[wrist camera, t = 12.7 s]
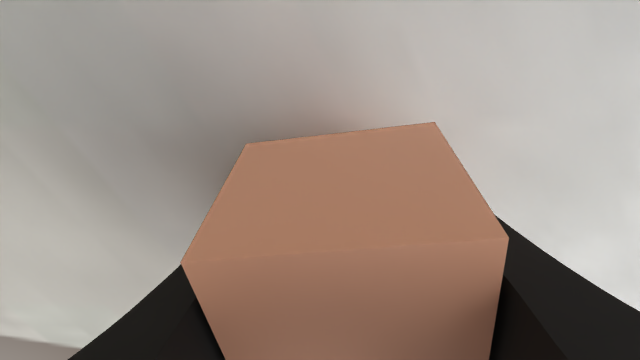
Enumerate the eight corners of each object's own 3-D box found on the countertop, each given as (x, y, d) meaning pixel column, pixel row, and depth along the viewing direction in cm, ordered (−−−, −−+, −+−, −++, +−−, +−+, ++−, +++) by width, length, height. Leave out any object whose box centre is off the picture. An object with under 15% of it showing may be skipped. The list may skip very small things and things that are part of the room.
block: (434, 122, 8) (508, 237, 4) (431, 265, 10) (479, 417, 7) (246, 143, 8) (180, 262, 5) (282, 275, 11) (254, 422, 7)
